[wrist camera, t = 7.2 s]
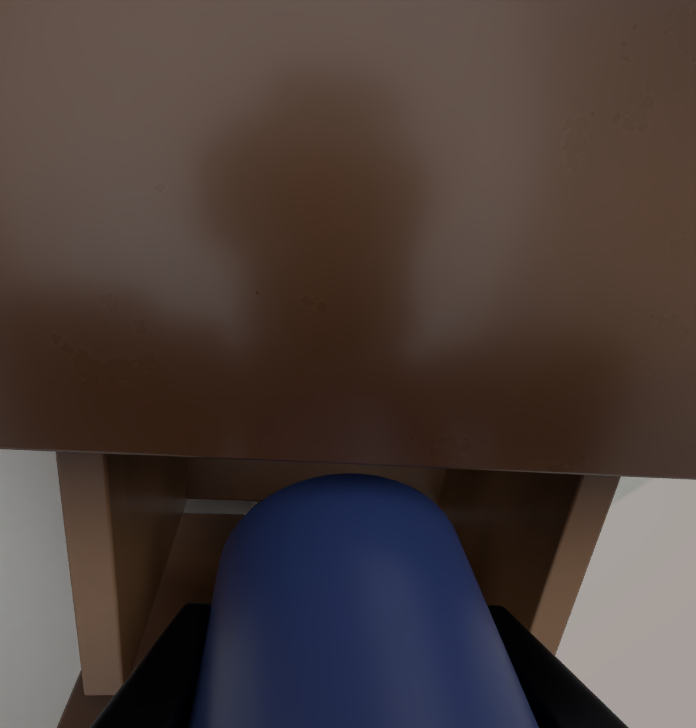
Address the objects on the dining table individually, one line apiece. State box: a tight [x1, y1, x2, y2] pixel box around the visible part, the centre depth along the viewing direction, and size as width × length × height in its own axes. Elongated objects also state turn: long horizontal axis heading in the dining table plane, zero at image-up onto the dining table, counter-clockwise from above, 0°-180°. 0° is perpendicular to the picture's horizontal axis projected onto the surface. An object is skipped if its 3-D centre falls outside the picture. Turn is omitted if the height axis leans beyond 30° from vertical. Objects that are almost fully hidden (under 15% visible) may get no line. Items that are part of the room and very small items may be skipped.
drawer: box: [56, 451, 621, 728], centre depth 13 cm, size 16×12×8 cm
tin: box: [187, 473, 539, 728], centre depth 7 cm, size 5×5×6 cm
